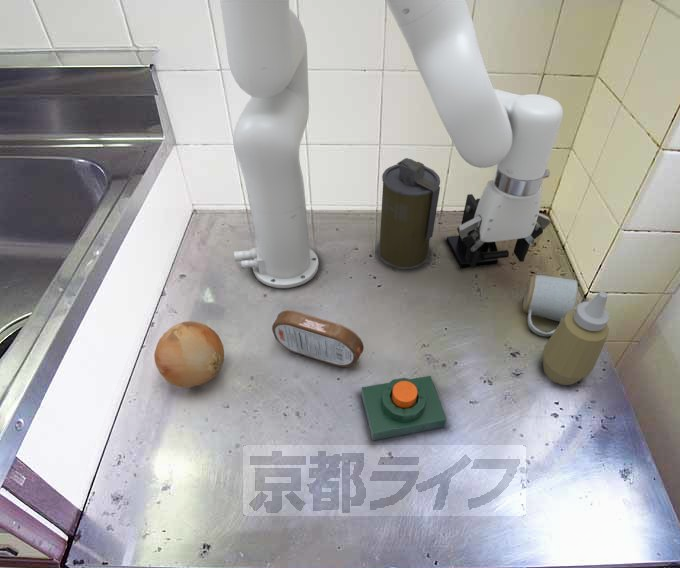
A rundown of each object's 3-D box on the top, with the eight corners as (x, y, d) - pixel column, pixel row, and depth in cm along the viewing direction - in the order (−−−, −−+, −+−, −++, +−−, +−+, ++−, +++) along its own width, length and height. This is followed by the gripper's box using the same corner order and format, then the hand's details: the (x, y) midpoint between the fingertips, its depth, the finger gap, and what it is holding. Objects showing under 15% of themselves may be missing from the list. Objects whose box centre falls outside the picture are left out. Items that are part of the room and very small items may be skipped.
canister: (367, 253, 96) (370, 163, 82) (399, 231, 102) (408, 143, 87) (408, 278, 92) (420, 188, 77) (440, 253, 98) (456, 165, 83)
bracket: (496, 264, 96) (512, 211, 87) (460, 268, 95) (472, 215, 85) (480, 237, 102) (494, 185, 93) (446, 241, 101) (456, 188, 91)
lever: (505, 259, 89) (510, 254, 87) (481, 262, 88) (485, 257, 86) (489, 203, 92) (494, 196, 90) (465, 205, 91) (469, 199, 89)
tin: (363, 361, 78) (365, 328, 72) (356, 376, 76) (357, 343, 70) (281, 336, 81) (275, 301, 74) (272, 349, 78) (266, 315, 72)
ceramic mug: (522, 293, 91) (533, 263, 85) (565, 302, 90) (580, 272, 84) (518, 333, 84) (530, 303, 78) (564, 343, 83) (580, 314, 77)
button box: (372, 440, 68) (373, 426, 65) (361, 395, 73) (362, 380, 70) (444, 427, 70) (448, 413, 67) (428, 383, 76) (431, 368, 73)
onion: (216, 404, 71) (200, 364, 63) (153, 394, 72) (130, 353, 64) (239, 355, 77) (227, 313, 70) (181, 345, 78) (164, 303, 71)
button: (395, 410, 68) (396, 403, 66) (389, 389, 70) (390, 382, 69) (419, 405, 68) (420, 399, 67) (412, 385, 71) (413, 379, 69)
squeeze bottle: (587, 396, 75) (638, 320, 62) (536, 386, 76) (575, 309, 63) (583, 357, 81) (629, 280, 68) (535, 348, 82) (571, 270, 68)
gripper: (555, 162, 80) (528, 242, 93) (459, 171, 77) (444, 252, 89) (577, 186, 75) (545, 267, 88) (475, 196, 72) (457, 279, 85)
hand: (494, 260), depth 89 cm, fingers open, 9 cm apart
